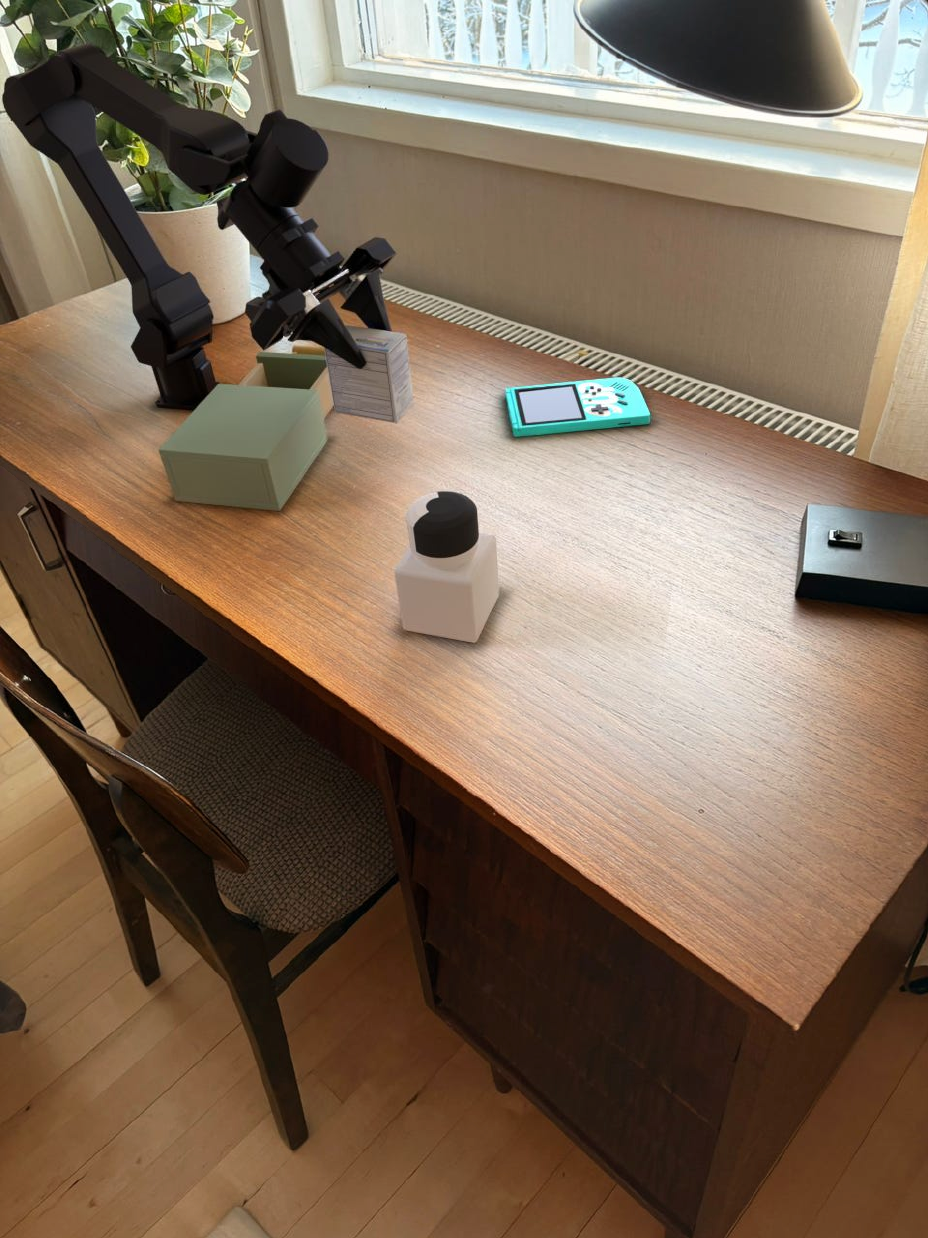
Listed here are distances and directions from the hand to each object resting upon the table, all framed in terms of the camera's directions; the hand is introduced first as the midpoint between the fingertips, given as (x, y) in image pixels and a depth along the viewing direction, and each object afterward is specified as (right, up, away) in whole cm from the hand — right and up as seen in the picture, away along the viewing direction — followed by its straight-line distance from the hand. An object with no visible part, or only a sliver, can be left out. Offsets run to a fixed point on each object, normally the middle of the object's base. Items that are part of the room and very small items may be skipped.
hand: (378, 356), depth 99 cm
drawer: (-12, -1, +17) cm, 21 cm away
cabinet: (-15, -11, +9) cm, 20 cm away
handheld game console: (+22, -3, +14) cm, 26 cm away
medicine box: (-1, -5, +5) cm, 7 cm away
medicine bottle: (+8, -27, -12) cm, 31 cm away
